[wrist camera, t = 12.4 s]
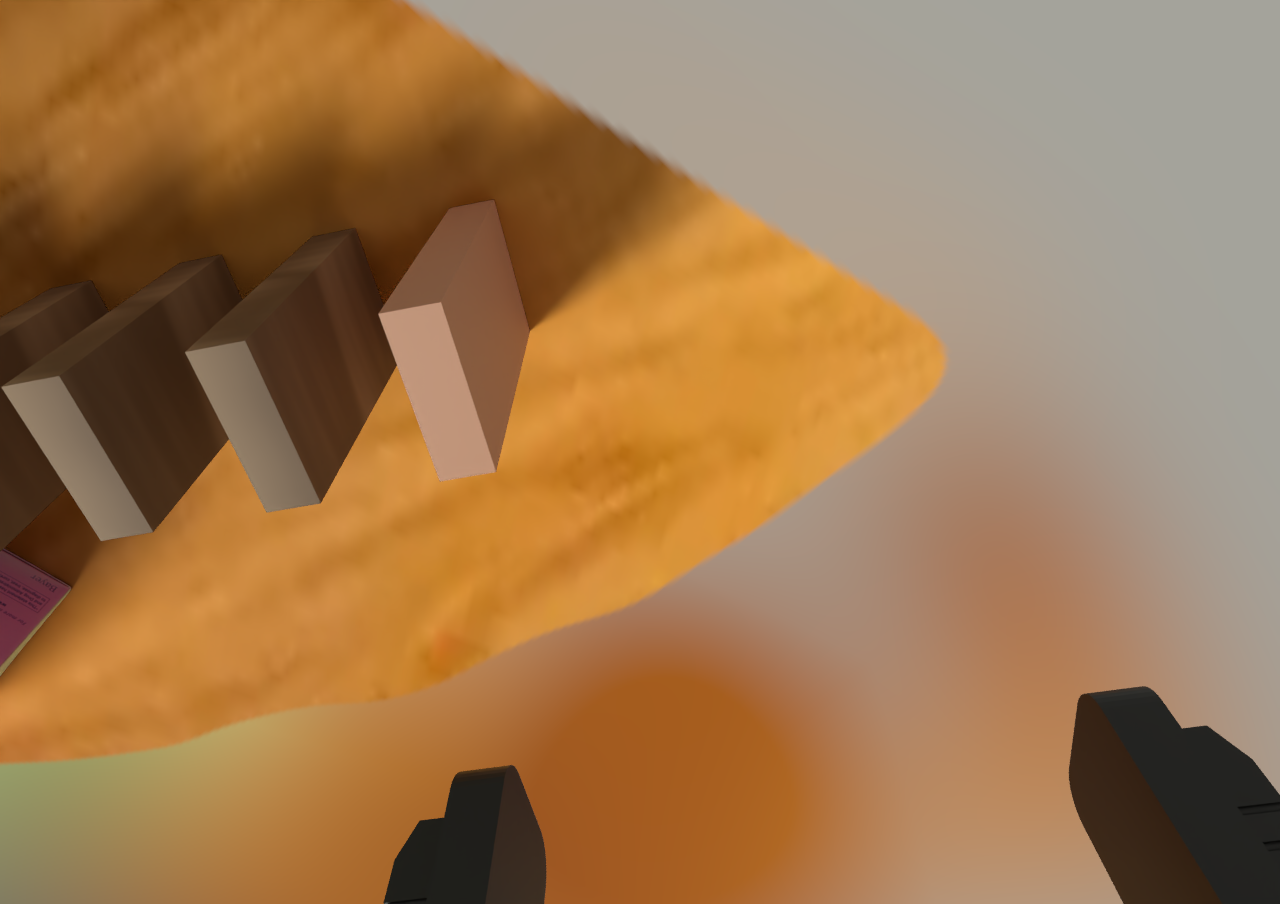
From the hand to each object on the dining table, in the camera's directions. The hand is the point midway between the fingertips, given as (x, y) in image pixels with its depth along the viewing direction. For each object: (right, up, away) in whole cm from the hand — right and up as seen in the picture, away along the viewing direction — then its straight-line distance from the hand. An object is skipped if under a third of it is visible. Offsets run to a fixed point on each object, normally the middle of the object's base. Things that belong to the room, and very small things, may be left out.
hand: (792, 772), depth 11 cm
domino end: (-7, +11, +19) cm, 23 cm away
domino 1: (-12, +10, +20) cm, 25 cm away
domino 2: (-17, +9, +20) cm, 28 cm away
